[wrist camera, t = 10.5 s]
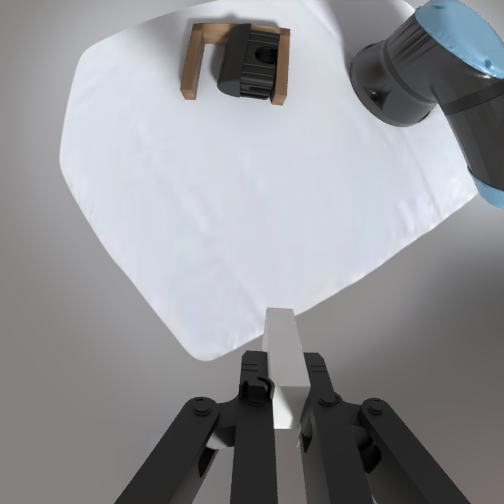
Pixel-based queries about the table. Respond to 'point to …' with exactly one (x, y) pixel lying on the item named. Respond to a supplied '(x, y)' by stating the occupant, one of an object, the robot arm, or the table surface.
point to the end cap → (248, 62)
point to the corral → (219, 35)
